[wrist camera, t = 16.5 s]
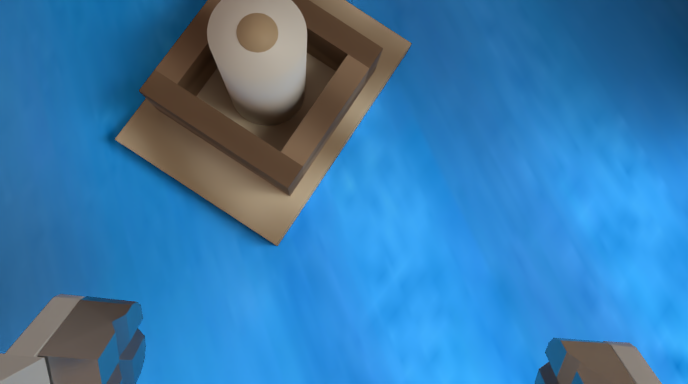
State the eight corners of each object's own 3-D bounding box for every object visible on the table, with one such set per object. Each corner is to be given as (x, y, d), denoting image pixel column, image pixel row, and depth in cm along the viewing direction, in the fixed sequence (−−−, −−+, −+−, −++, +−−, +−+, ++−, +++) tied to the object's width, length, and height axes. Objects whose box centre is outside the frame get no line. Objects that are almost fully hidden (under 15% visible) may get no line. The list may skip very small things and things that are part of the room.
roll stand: (262, -44, 35) (256, -91, 30) (408, 50, 35) (423, 17, 30) (121, 143, 32) (90, 124, 28) (277, 246, 32) (272, 243, 27)
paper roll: (257, 40, 33) (243, -32, 25) (319, 80, 33) (325, 20, 25) (214, 99, 32) (186, 44, 24) (278, 139, 32) (271, 98, 24)
